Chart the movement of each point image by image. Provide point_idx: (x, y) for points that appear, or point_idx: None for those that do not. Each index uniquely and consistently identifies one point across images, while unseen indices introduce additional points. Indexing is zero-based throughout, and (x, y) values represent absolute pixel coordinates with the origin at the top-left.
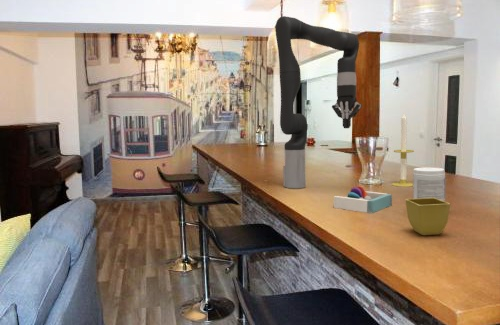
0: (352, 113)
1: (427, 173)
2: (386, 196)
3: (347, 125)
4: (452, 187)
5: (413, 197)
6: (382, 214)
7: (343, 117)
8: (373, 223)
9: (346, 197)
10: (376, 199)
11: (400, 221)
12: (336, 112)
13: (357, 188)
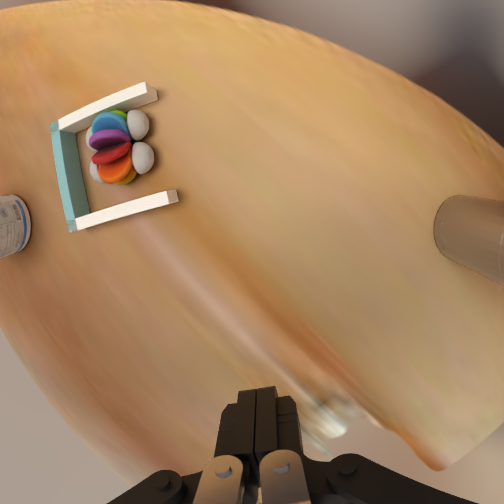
0: (136, 502)
1: None
2: (62, 201)
3: (236, 411)
4: (160, 462)
5: (3, 204)
6: (49, 141)
7: (273, 462)
8: (31, 83)
9: (113, 102)
10: (54, 150)
11: (12, 133)
12: (408, 492)
13: (92, 135)
